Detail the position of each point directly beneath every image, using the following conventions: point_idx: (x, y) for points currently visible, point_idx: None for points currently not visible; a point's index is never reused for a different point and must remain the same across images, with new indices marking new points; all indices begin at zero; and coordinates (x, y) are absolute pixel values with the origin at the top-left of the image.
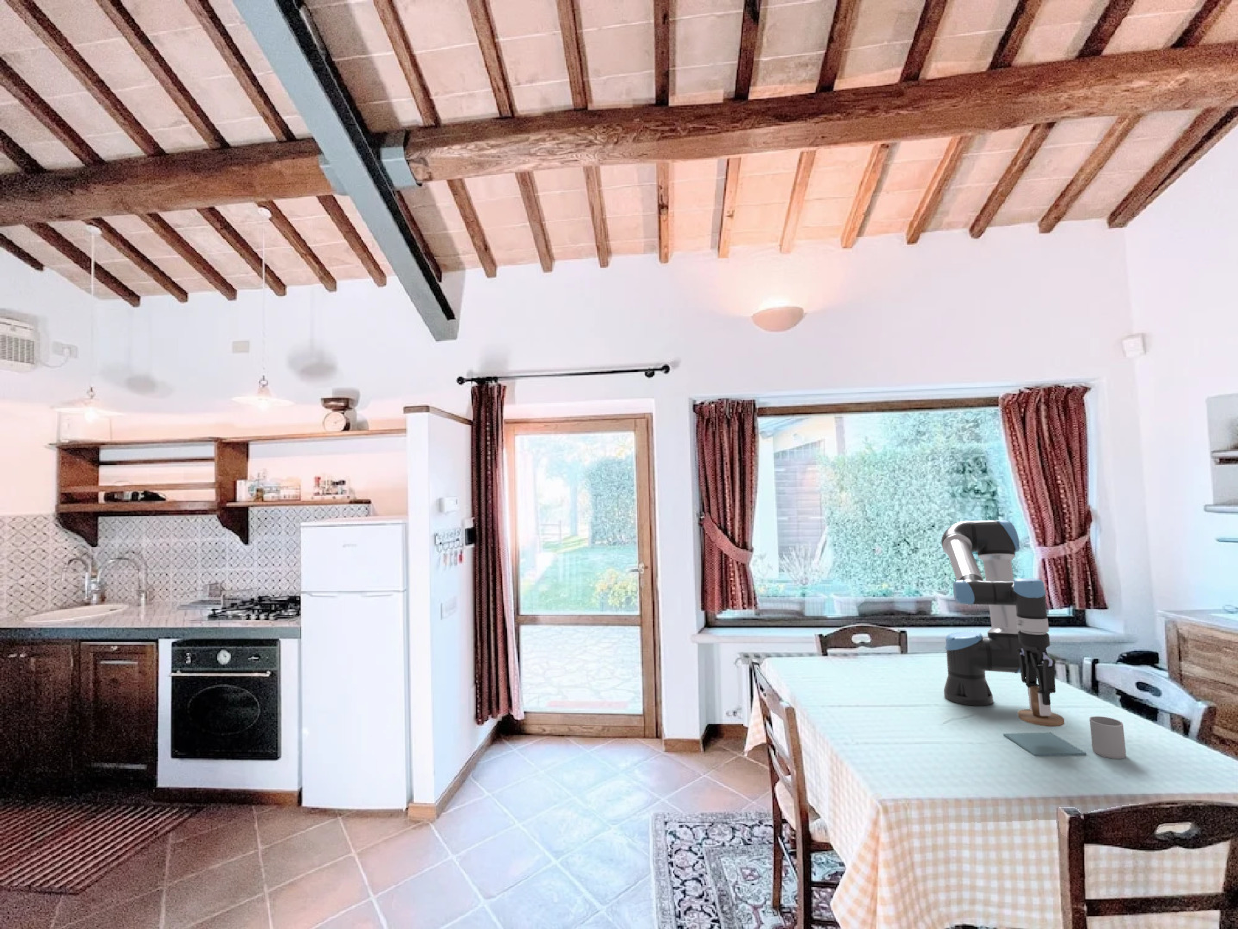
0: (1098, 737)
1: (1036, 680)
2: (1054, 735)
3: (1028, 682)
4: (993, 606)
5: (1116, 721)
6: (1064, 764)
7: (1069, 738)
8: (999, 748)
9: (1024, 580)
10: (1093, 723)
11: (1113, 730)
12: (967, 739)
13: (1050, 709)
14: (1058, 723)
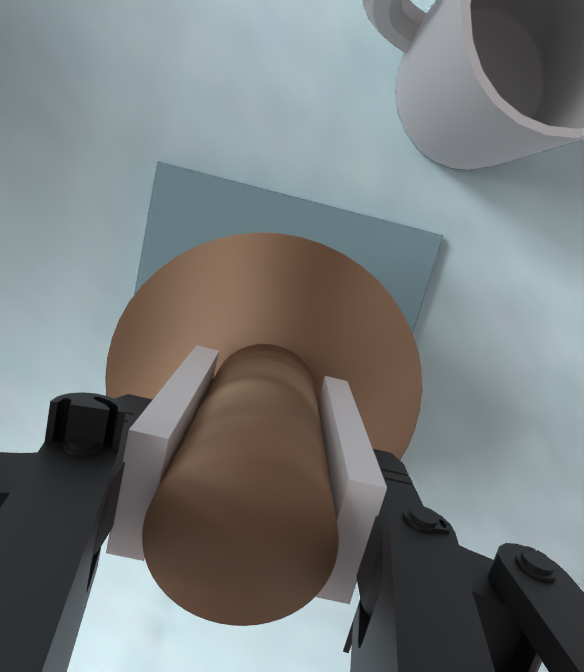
0: (521, 155)
1: (98, 510)
2: (200, 181)
3: (83, 608)
4: None
5: None
6: (474, 431)
7: (233, 102)
8: None
9: None
10: (540, 137)
11: None
12: (118, 614)
13: (354, 402)
14: (419, 389)
